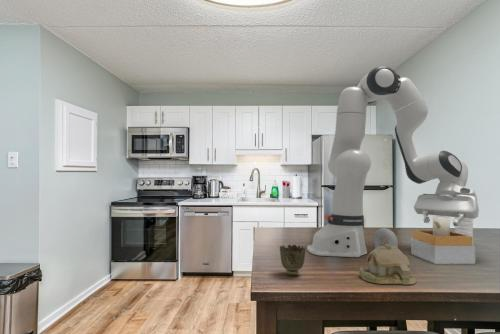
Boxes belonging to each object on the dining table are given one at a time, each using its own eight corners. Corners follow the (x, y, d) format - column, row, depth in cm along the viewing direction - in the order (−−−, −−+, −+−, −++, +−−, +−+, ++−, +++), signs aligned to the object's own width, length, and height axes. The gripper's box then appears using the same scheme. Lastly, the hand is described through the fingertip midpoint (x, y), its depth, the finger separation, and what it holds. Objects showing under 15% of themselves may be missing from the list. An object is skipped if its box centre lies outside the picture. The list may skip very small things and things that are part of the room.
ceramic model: (396, 272, 96) (396, 239, 96) (424, 285, 85) (423, 247, 85) (353, 275, 93) (353, 240, 93) (376, 288, 82) (376, 249, 82)
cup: (287, 280, 87) (287, 250, 87) (274, 272, 94) (275, 245, 94) (310, 277, 90) (310, 248, 90) (296, 270, 96) (296, 243, 97)
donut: (371, 252, 120) (371, 226, 121) (377, 252, 122) (377, 225, 122) (393, 259, 112) (393, 230, 112) (400, 258, 113) (400, 229, 113)
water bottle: (462, 243, 142) (462, 187, 142) (476, 246, 135) (476, 187, 136) (447, 244, 139) (447, 186, 140) (461, 247, 133) (460, 187, 134)
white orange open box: (434, 264, 105) (434, 236, 106) (411, 253, 119) (411, 229, 120) (483, 263, 106) (483, 236, 107) (454, 253, 120) (454, 230, 121)
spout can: (435, 239, 117) (435, 215, 117) (451, 241, 113) (451, 217, 113) (427, 242, 111) (427, 217, 111) (444, 244, 107) (443, 219, 107)
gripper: (417, 188, 126) (407, 214, 119) (479, 190, 111) (472, 220, 104) (421, 199, 129) (412, 225, 122) (482, 202, 114) (476, 232, 107)
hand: (440, 223), depth 113 cm, fingers open, 8 cm apart
